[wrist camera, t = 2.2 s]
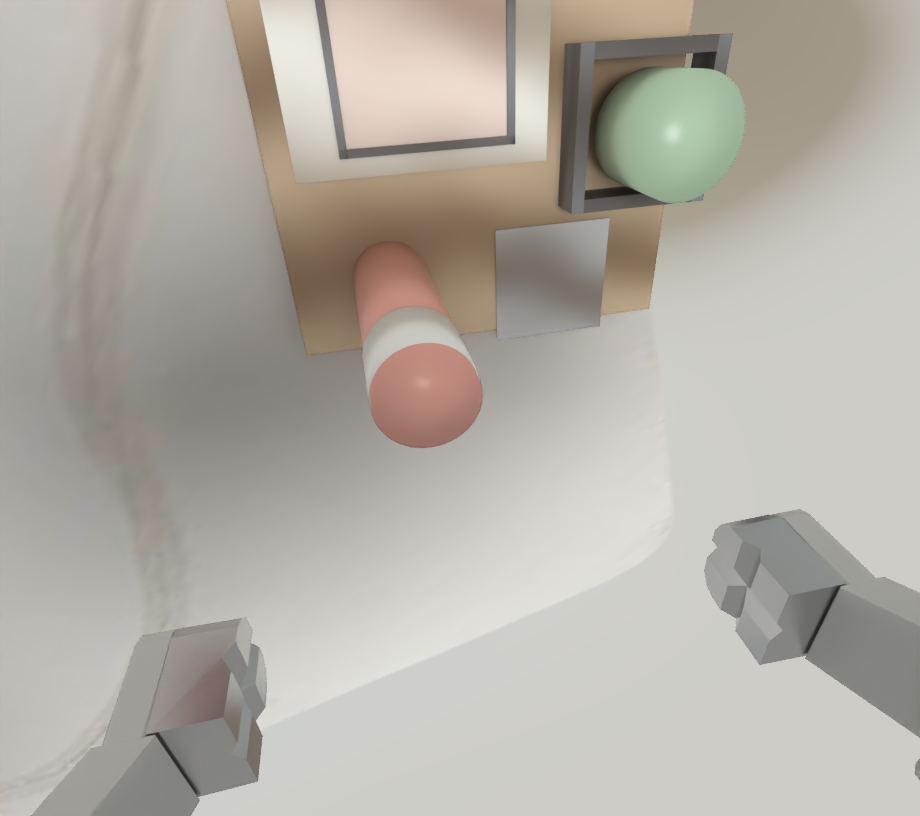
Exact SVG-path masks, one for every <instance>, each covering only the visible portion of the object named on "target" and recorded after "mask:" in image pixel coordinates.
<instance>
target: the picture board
mask: <svg viewBox="0 0 920 816" xmlns="http://www.w3.org/2000/svg"><path fill="white" fill-rule="evenodd" d="M226 2H227V6H228V11H229V15H230V19H231V24H232V28H233V33H234V37H235V41H236V46H237V50H238V55H239V59H240V63H241V68H242V72H243V77H244V81H245V85H246V90H247V94H248V99H249V103H250V107H251V112H252V116H253V121H254V125H255V129H256V134H257V138H258V143H259V147H260V151H261V156H262V160H263V165H264V169H265V173H266V178H267V182H268V187H269V191H270V195H271V200H272V204H273V209H274V213H275V217H276V222H277V226H278V231H279V235H280V239H281V244H282V248H283V252H284V257H285V261H286V266H287V270H288V274H289V279H290V283H291V288H292V292H293V296H294V301H295V305H296V310H297V314H298V318H299V323H300V327H301V332H302V336H303V340H304V345H305V349H306V354H307V356H309V355H316V354H323V353H331V352H338V351H345V350H352V349H360V348H363V345H362V338H361V330H360V323H359V316H358V309H357V301H356V294H355V287H354V279H353V274H354V267H355V264H356V262H357V260H358V258H359V256H360V255H361V254H362V253H363V252H364V251H365V250H366V249H367V248H368V247H370V246H372V245H373V244H376V243H378V242H382V241H397V242H401V243H404V244H406V245H408V246H410V247H411V248H412V249H414V250H415V251H416V252H417V253H418V255H419V256H420V257H421V259H422V261H423V263H424V265H425V267H426V269H427V271H428V273H429V275H430V277H431V280H432V282H433V284H434V286H435V288H436V290H437V292H438V294H439V296H440V298H441V300H442V302H443V304H444V307H445V309H446V311H447V313H448V315H449V317H450V319H451V321H452V323H453V324H454V325H455V327H456V328H457V330H458V332H459V334H460V335H461V334H468V333H476V332H483V331H490V330H496V335H497V340H504V339H511V338H518V337H525V336H532V335H539V334H546V333H554V332H561V331H568V330H575V329H582V328H589V327H596V326H600V316H601V315H606V314H613V313H621V312H628V311H635V310H642V309H649V305H650V298H651V292H652V285H653V278H654V271H655V264H656V257H657V249H658V243H659V236H660V230H661V223H662V215H663V209H664V204H672V203H666V202H662V201H659V200H656V199H654V198H652V197H650V196H647V195H645V194H643V193H641V192H638V191H636V190H634V189H631V188H629V187H627V186H625V185H622V184H620V183H618V182H616V181H614V180H613V179H611V178H610V177H609V176H608V175H607V174H606V173H605V172H604V170H603V169H602V167H601V165H600V163H599V161H598V159H597V156H596V151H595V144H594V133H595V125H596V121H597V117H598V114H599V112H600V109H601V107H602V105H603V103H604V101H605V99H606V98H607V96H608V95H609V93H610V92H611V91H612V89H613V88H614V87H615V86H616V85H617V84H618V83H619V82H620V81H621V80H622V79H624V78H625V77H626V76H628V75H629V74H631V73H633V72H635V71H637V70H639V69H642V68H645V67H652V66H657V67H681V68H684V64H685V57H686V53H693V59H692V65H691V68H704V69H712V70H716V71H719V72H721V73H723V74H724V75H726V68H727V63H728V58H729V52H730V47H731V42H732V35H733V34H712V35H711V34H710V35H693V36H689V29H690V22H691V16H692V9H693V2H694V0H226ZM703 196H704V194H702V195H701V196H699V197H697V198H695V199H692V200H689V201H686V202H690V201H700V200H703ZM681 203H682V202H681Z"/></svg>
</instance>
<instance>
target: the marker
mask: <svg viewBox="0 0 920 816" xmlns="http://www.w3.org/2000/svg"><path fill="white" fill-rule="evenodd" d="M353 279H354V287H355V294H356V301H357V309H358V316H359V323H360V330H361V338H362V345H363V352H362V353H363V365H364V372H365V380H366V387H367V395H368V401H369V406H370V409H371V411H372V415H373V418H374V420H375V422H376V424H377V426H378V427H379V429H380V430H381V431H382V432H383V433H384V434H385V435H386V436H387V437H389V438H390V439H391V440H393V441H395V442H397V443H399V444H402V445H405V446H409V447H415V448H427V447H434V446H439V445H442V444H445V443H447V442H450V441H452V440H454V439H455V438H457V437H458V436H460V435H461V434H463V433H464V432H465V431H466V430H467V429H468V428H469V427H470V426H471V425H472V423H473V422H474V421H475V419H476V417H477V415H478V413H479V411H480V408H481V404H482V397H483V393H482V386H481V382H480V379H479V374H478V372H477V369H476V367H475V365H474V363H473V361H472V358H471V356H470V354H469V352H468V350H467V348H466V346H465V344H464V342H463V340H462V338H461V336H460V334H459V332H458V330H457V328H456V327H455V325H454V324H453V323H452V321H451V319H450V317H449V315H448V313H447V311H446V309H445V307H444V304H443V302H442V300H441V298H440V296H439V294H438V292H437V290H436V288H435V286H434V284H433V282H432V280H431V277H430V275H429V273H428V271H427V269H426V267H425V265H424V263H423V261H422V259H421V257H420V256H419V255H418V253H417V252H416V251H415V250H414V249H412V248H411V247H410V246H408V245H406V244H404V243H401V242H397V241H382V242H378V243H376V244H373V245H372V246H370V247H368V248H367V249H366V250H365V251H364V252H363V253H362V254H361V255H360V256H359V258H358V260H357V262H356V264H355V267H354V274H353Z"/></svg>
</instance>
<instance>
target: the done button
mask: <svg viewBox="0 0 920 816" xmlns="http://www.w3.org/2000/svg"><path fill="white" fill-rule="evenodd" d="M744 130H745V107H744V102H743V99H742V96H741V93H740V91H739V90H738V88H737V86H736V85H735V84H734V82H733V81H732V80H731V79H730V78H729V77H728V76H726V75H724V74H723V73H721V72H719V71H716V70H712V69H704V68H681V67H657V66H652V67H645V68H642V69H639V70H637V71H635V72H633V73H631V74H629V75H628V76H626V77H625V78H624V79H622V80H621V81H620V82H619V83H618V84H617V85H616V86H615V87H614V88H613V89H612V91H611V92H610V93H609V95H608V96H607V98H606V99H605V101H604V103H603V105H602V107H601V109H600V112H599V114H598V117H597V121H596V125H595V133H594V144H595V151H596V156H597V159H598V161H599V163H600V165H601V167H602V169H603V170H604V172H605V173H606V174H607V175H608V176H609V177H610V178H611V179H613V180H614V181H616V182H618V183H620V184H622V185H625V186H627V187H629V188H631V189H634V190H636V191H638V192H641V193H643V194H645V195H647V196H650V197H652V198H654V199H656V200H659V201H662V202H666V203H681V202H686V201H689V200H692V199H695V198H697V197H699V196H701V195H702V194H704V193H706V192H707V191H708V190H710V189H711V188H712V187H714V186H715V185H716V184H717V183H718V182H719V181H720V180H721V179H722V177H723V176H724V175H725V174H726V172H727V171H728V170H729V168H730V167H731V165H732V163H733V162H734V160H735V158H736V156H737V154H738V152H739V149H740V146H741V143H742V139H743V136H744Z"/></svg>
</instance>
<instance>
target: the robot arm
mask: <svg viewBox="0 0 920 816" xmlns="http://www.w3.org/2000/svg"><path fill="white" fill-rule="evenodd" d="M712 541H713V542H714V543H715V544H716V546H717V548H716V549H715V550H714V551H713V552H712V553H711V554H710V555H709V556H708V557H707V561H706V565H705V570H704V571H705V577H706V583H707V586H708V589H709V591H710V593H711V596H712V597H713V599H714V600H715V602H716V603H717V605H718V606H719V608H720V609H721V610H723V611H724V612H726V613H728V614H730V615H731V616H733V617H735V618H736V632H737V634H738V635H739V636H740V638H741V639H742V641H743V642H744V643H745V645H746V646H747V648H748V649H749V651H750V652H751V653H752V655H753V656H754V658H755V659H756V660H757V661H758V663H759V664H760V665H761V664H766V663H771V662H776V661H781V660H786V659H791V658H796V657H801V656H806V655H807V656H806V658H805V659H807V660H808V661H810V662H811V663H813V664H814V665H816V666H817V667H818V668H820V669H821V670H823V671H824V672H826V673H827V674H829V675H830V676H832V677H833V678H834V679H836V680H837V681H839V682H840V683H842V684H843V685H844V686H846V687H847V688H849V689H850V690H852V691H853V692H855V693H856V694H858V695H859V696H860V697H862V698H863V699H865V700H866V701H868V702H869V703H871V704H872V705H873V706H875V707H876V708H878V709H879V710H881V711H882V712H883V713H885V714H886V715H888V716H889V717H891V718H892V719H894V720H895V721H897V722H898V723H900V724H901V725H902V726H904V727H905V728H907V729H908V730H909V731H911V732H912V733H914V734H915V735H917V736H918V737H920V593H919V592H917V591H914V590H912V589H910V588H908V587H906V586H903V585H901V584H899V583H897V582H894V581H892V580H890V579H888V578H886V577H882V578H875V577H874V576H873V575H872V574H871V573H870V572H869V571H868V570H867V569H866V568H865V567H864V566H863V565H862V564H861V563H860V562H859V561H858V560H857V559H856V558H854V557H853V555H852V554H851V553H849V552H848V551H847V550H846V549H845V548H844V547H843V546H842V545H841V544H840V543H839V542H838V541H837V540H836V539H835V538H834V537H833V536H832V535H831V534H830V533H829V532H828V531H827V530H825V529H824V528H823V527H822V526H821V525H820V524H819V523H818V522H817V521H816V520H815V519H814V518H813V517H812V516H811V515H810V514H808V513H806V512H804V511H802V510H794V511H789V512H783V513H778V514H773V515H765V516H760V517H755V518H750V519H746V520H741V521H736V522H731V523H727V524H722V525H720V526H719V527H718V528H717V529H716V530H715V532H714V536H713V539H712ZM251 638H252V628H251V626H250V624H249V622H248V620H247V618H240V619H234V620H228V621H222V622H216V623H210V624H204V625H198V626H193V627H187V628H181V629H175V630H170V631H164V632H159V633H153V634H148V635H143V636H142V637H141V639H140V640H139V641H138V643H137V644H136V646H135V647H134V650H133V653H132V656H131V659H130V662H129V666H128V669H127V672H126V675H125V678H124V681H123V684H122V687H121V690H120V693H119V696H118V699H117V702H116V705H115V708H114V711H113V714H112V717H111V720H110V723H109V726H108V729H107V732H106V735H105V738H104V741H103V744H102V746H99V747H95V748H91V749H90V750H89V751H88V752H87V753H86V754H85V756H84V757H83V758H82V759H81V760H80V761H79V762H78V763H77V765H76V766H75V767H74V768H73V769H72V770H71V771H70V772H69V773H68V775H67V776H66V777H65V778H64V779H63V780H62V781H61V782H60V784H59V785H58V786H57V787H56V788H55V789H54V790H53V791H52V792H51V794H50V795H49V796H48V797H47V798H46V799H45V800H44V801H43V803H42V804H41V805H40V806H39V807H38V808H37V809H36V810H35V811H34V813H33V814H32V815H31V816H191V814H192V813H193V811H194V809H195V808H196V806H197V804H198V802H199V798H198V797H200V796H204V795H208V794H211V793H215V792H219V791H223V790H226V789H231V788H234V787H238V786H242V785H246V784H250V783H254V782H257V781H258V775H259V764H260V755H261V746H262V734H261V731H260V729H259V727H258V725H257V723H256V720H257V718H258V717H259V715H260V714H261V712H262V711H263V710H264V708H265V705H266V692H267V683H266V668H265V663H264V658H263V655H262V653H261V650H260V647H258V646H256V645H254V644H252V643H251ZM915 775H916V776H917V777H918V778H919V780H920V759H919V760H918V761H917V763H916V765H915Z"/></svg>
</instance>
